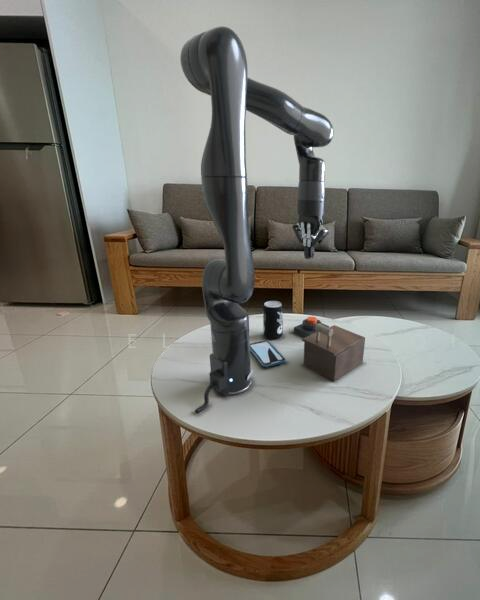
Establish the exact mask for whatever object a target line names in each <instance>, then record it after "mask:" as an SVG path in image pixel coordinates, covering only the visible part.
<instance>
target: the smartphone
mask: <svg viewBox="0 0 480 600" xmlns="http://www.w3.org/2000/svg"><path fill="white" fill-rule="evenodd" d="M250 353H251V354H252V355H253V356H254V358H255V359H256V360H257V361H258V363H259V364H260V365H261V366H262V367H263V368H269V367H274V366H277V365H280V364H284V363H286V361H287V360H286V357H285V356H284V355H282V353H281V352H280V351H278V349H277V348H276V347H275V346H274V345H273V344H272V343H271V342H270V341H269V340H268V339H267V340H260V341H256V342H250Z"/></svg>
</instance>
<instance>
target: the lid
mask: <svg viewBox="0 0 480 600" xmlns="http://www.w3.org/2000/svg"><path fill="white" fill-rule="evenodd" d="M315 330H316V331H317V333H314V334H312V335H310V336H307V337H305V338H304V337H302V339H301V341H302V343H304V342H305V343H307V344H310V345H312V346H314V347H316V348H318V349H320V350H322V351H324V352H326V353H328V354H330V355H333V356H335V355H337V354H339V353H341V352H343V351H345V350H347V349H349V348H351V347H352V346H354V345H356V344H358V343H360V342H362V341H364V340H365V341H366V337H365V336H363V335H360V334H358V333H355V332H352V331H350V330H347V329H345V328H343V327H340V326H338V325H335V324H334V325H331V326H329V328H328V327H325V326H323V325H320V324H316V326H315Z"/></svg>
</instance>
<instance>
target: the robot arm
mask: <svg viewBox="0 0 480 600" xmlns="http://www.w3.org/2000/svg"><path fill="white" fill-rule="evenodd" d="M179 60H180V66H181V70H182V72H183V74H184V77H185V78H186V80H187V81H188V82H189V83H190V85H191V86H192V87H193V88H194V89H196V90H197V91H198V92H200V93H202V94H205V95H207V96H210V101H211V121H210V128H209V132H208V135H207V138H206V142H205V146H204V148H203V153H202V157H201V160H200V161H201V162H200V179H201V190H202V198H203V203H204V206H205V209H206V210H207V213H208V215H209V217H210V219H211V220H212V223H213V225H214V226H215V227H216V229H217V232H218V234H219V236H220V238H221V241H222V245H223V249H224V258H225V259H224V258H215V259H212V260H210V261H208V263H207V264H206V265H205V267H204V269H203V271H202V277H201V290H202V296H203V302H204V310H205V315H206V317H207V319H208V321H209V326H210V335H211V336H210V338H211V348H212V350H211V351H212V353H209V366H210V372H209V373H208V375H209V385H208V387H206V389H205V391H204V394H203V400H204V401H203V404H202V405H200V406H199V407H197V408H195V410H194V412H195V413H196V414H199V413H201V412H203V411H204V410H205V409H206V408H207V407H208V405H209V401H210V399H209V396H210V392H211V391H212V389H213V388H214V390H216V391H217V392H218V393H220V394H221V395H222V396H223V397H228V396H234V395H239V394H243V392H246V391H247V390H249V389H250V387H251V386H252V375H253V373H254V370H253V369H254V368H253V369H252V367H251V351H250V343H251V342H250V340H251V339H250V316H249V313H248V312H247V310H246V309H244V308H243V307H242V306H241V304H243V303H246V302H247V301H249V300H250V299H251V297H252V295H253V292H254V290H255V284H256V283H255V281H256V275H255V266H254V259H253V252H252V251H253V250H252V244H251V236H250V220H249V189H248V171H247V145H246V144H247V142H246V141H247V139H246V118H247V117H246V116H247V112H249V113H251V114H253V115H255V116H257V117H258V118H260V119H262V120H264V121H266V122H268V123H269V124H271V125H273V126H274V127H276V128H278V129H279V130H281V132H284V133H286V134H287V135H291V136H293V142H294V146H295V151H296V156H297V161H298V167H299V168H298V185H297V212H296V213H297V215H298V216H299V217H298V218H297V223H296V224H293V225H292V226H291V228H292V230H293V232H294V234H295V236H296V239H297V240H298V243H299V244H302V245H303V255H304V259H306V260H313V259H314V258H315V247H316V246H320V245H321V244H322V243H323V241H324V240H325V239H326V237H327V236H328V234H329V232H330V230H329V228H326V227H325V226H324V221H323V216H324V214H325V196H326V195H325V194H326V188H325V187H326V186H325V178H326V177H325V176H326V161H325V160H324V159H323V158H321V157H318V156H315V152H314V149H313V148H325V147H326V146H328V145H329V144H330V143H331V142H332V140H333V138H334V126H333V124H332V122H331V120H330V119H329V118H328V117H327V116H326V115H325V114H322V113H320V112H318V111H315V110H313V109H312V108H309V107H306V106H303V105H301V104H300V103H299V102H298V101H297V100H295V99H294V98H293V97H292V96H290V95H288V94H287V93H286V92H285V91H282V90H281V89H279V88H276V87H274V86H271V85H268V84H265V83H263V82H260V81H257V80H254V79H252V78H250V77H248V72H249V71H248V59H247V54H246V50H245V47H244V45H243V42H242V40H241V39H240V37H239V36H238V34H237V33H236V32H235V31H234V30H233V29H232V28H230V27H228V26H216V27H212V28H210V29H208V30H205V31H203V32H201V33H199V34H195V35H194V36H192V37H191V38H189V39H188V40H186V42H184V44H183V45H182V48H181V51H180V57H179Z"/></svg>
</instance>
